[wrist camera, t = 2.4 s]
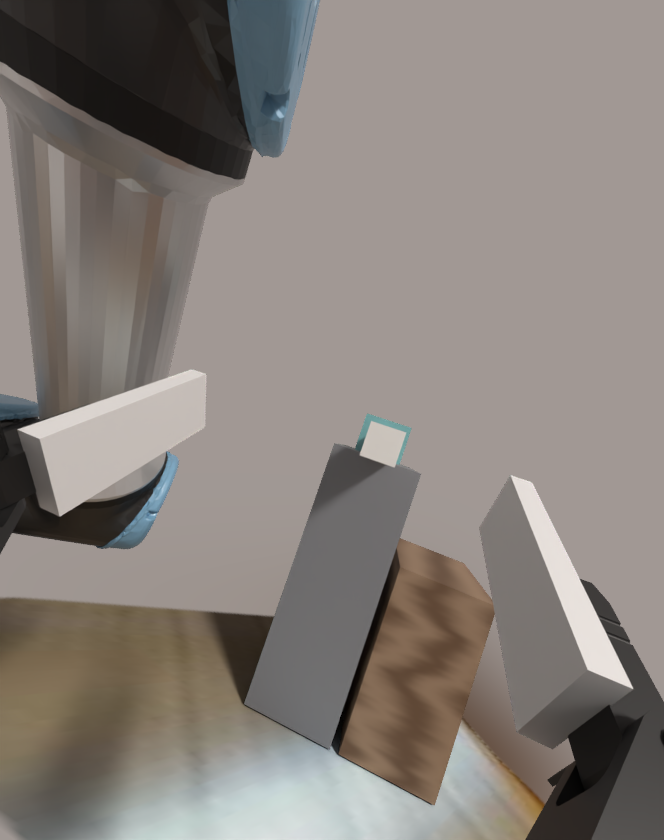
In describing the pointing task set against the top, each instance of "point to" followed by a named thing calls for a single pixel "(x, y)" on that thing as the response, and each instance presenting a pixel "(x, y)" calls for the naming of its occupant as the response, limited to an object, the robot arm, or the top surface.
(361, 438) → the bar
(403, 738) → the tall wooden pillar
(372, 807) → the top surface
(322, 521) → the tower
